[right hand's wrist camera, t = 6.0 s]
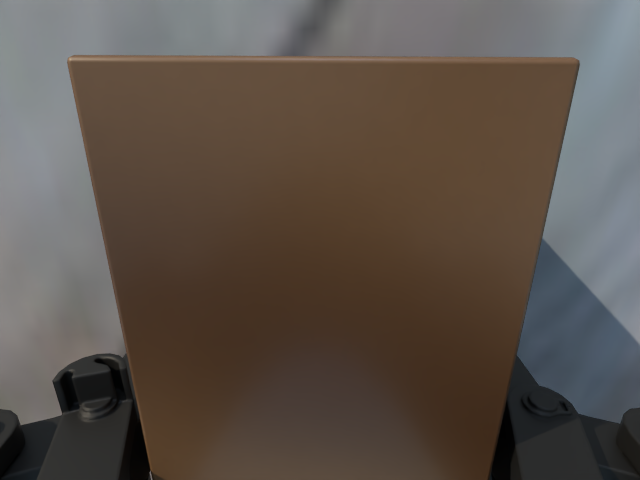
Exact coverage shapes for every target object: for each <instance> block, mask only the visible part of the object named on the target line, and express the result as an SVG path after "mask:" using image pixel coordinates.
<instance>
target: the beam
mask: <svg viewBox="0 0 640 480" xmlns="http://www.w3.org/2000/svg"><path fill="white" fill-rule="evenodd" d="M67 63H68V68H69V73H70V78H71V83H72V88H73V93H74V97H75V102H76V107H77V112H78V117H79V122H80V127H81V132H82V137H83V141H84V146H85V151H86V156H87V161H88V166H89V171H90V176H91V181H92V186H93V190H94V195H95V200H96V205H97V210H98V215H99V220H100V225H101V230H102V234H103V239H104V244H105V249H106V254H107V259H108V264H109V269H110V274H111V278H112V283H113V288H114V293H115V298H116V303H117V308H118V313H119V318H120V323H121V327H122V332H123V337H124V342H125V347H126V352H127V357H128V362H129V367H130V371H131V376H132V381H133V386H134V391H135V396H136V401H137V406H138V411H139V415H140V420H141V425H142V430H143V435H144V440H145V445H146V450H147V455H148V459H149V464H150V469H151V474H152V479H153V480H489V479H490V474H491V469H492V465H493V460H494V456H495V451H496V447H497V442H498V437H499V433H500V428H501V424H502V419H503V414H504V410H505V405H506V401H507V396H508V392H509V387H510V382H511V378H512V373H513V369H514V364H515V359H516V355H517V350H518V346H519V341H520V336H521V332H522V327H523V323H524V318H525V314H526V309H527V304H528V300H529V295H530V291H531V286H532V281H533V277H534V272H535V268H536V263H537V259H538V254H539V249H540V245H541V240H542V236H543V231H544V226H545V222H546V217H547V213H548V208H549V203H550V199H551V194H552V190H553V185H554V181H555V176H556V171H557V167H558V162H559V158H560V153H561V148H562V144H563V139H564V135H565V130H566V126H567V121H568V116H569V112H570V107H571V103H572V98H573V93H574V89H575V84H576V80H577V75H578V70H579V66H580V63H579V60H577V59H575V58H572V57H361V56H151V55H73V56H71V57H69V58H68V62H67Z"/></svg>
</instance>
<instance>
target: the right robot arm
mask: <svg viewBox="0 0 640 480" xmlns="http://www.w3.org/2000/svg"><path fill="white" fill-rule="evenodd" d="M53 384H54V388H55V391H56V394H57V398H58V401H59V404H60V407H61V411H62V415H61V416H58V417H55V418H51V419H47V420H42V421H38V422H34V423H29V424H25V425H20V422H19V420H18V417H17V415H16V414H15V413H13V412H12V411H10V410H2V409H0V480H151V478H150V473H149V472H150V470H151V469H150V464H149V459H148V455H147V450H146V445H145V440H144V435H143V430H142V425H141V420H140V415H139V411H138V406H137V401H136V396H135V391H134V386H133V381H132V376H131V371H130V367H129V362H128V357H127V354H125V356H124V357H123V358H122V357H120V356H119V355H114V354H110V353H109V354H96V355H92V356H88V357H85V358H82V359H80V360H78V361H75V362H73V363H71V364H69V365H68V366H67V367H65V368H64V369H63V370H61V371H60V372H59V373H58V374H57V375H56V377H55V378H54V379H53ZM489 480H640V408H634V409H629V410H628V411H627V412H626V413H624V415H623V418H622V420H621V423H620V424H618V423H614V422H609V421H605V420H601V419H596V418H592V417H588V416H584V415H581V414H578V413H577V411H576V410H575V408H574V407H573V405H572V404H571V403H570V402H569V401H568V400H567V399H565V398H564V397H563V396H562V395H560V394H558V393H556V392H554V391H552V390H551V389H549V388H545V387H542V386H539V385H538V384H537V382H536V381H535V380H534V378H533V377H532V375H531V374H530V373H529V371H528V370H527V369H526V367H525V366H524V364H523V363H522V362H521V360H520V359H519V358H518V356H517V355H516V359H515V364H514V369H513V373H512V378H511V382H510V387H509V392H508V396H507V401H506V405H505V410H504V414H503V419H502V424H501V428H500V433H499V437H498V442H497V447H496V451H495V456H494V460H493V465H492V469H491V474H490V479H489Z"/></svg>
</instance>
